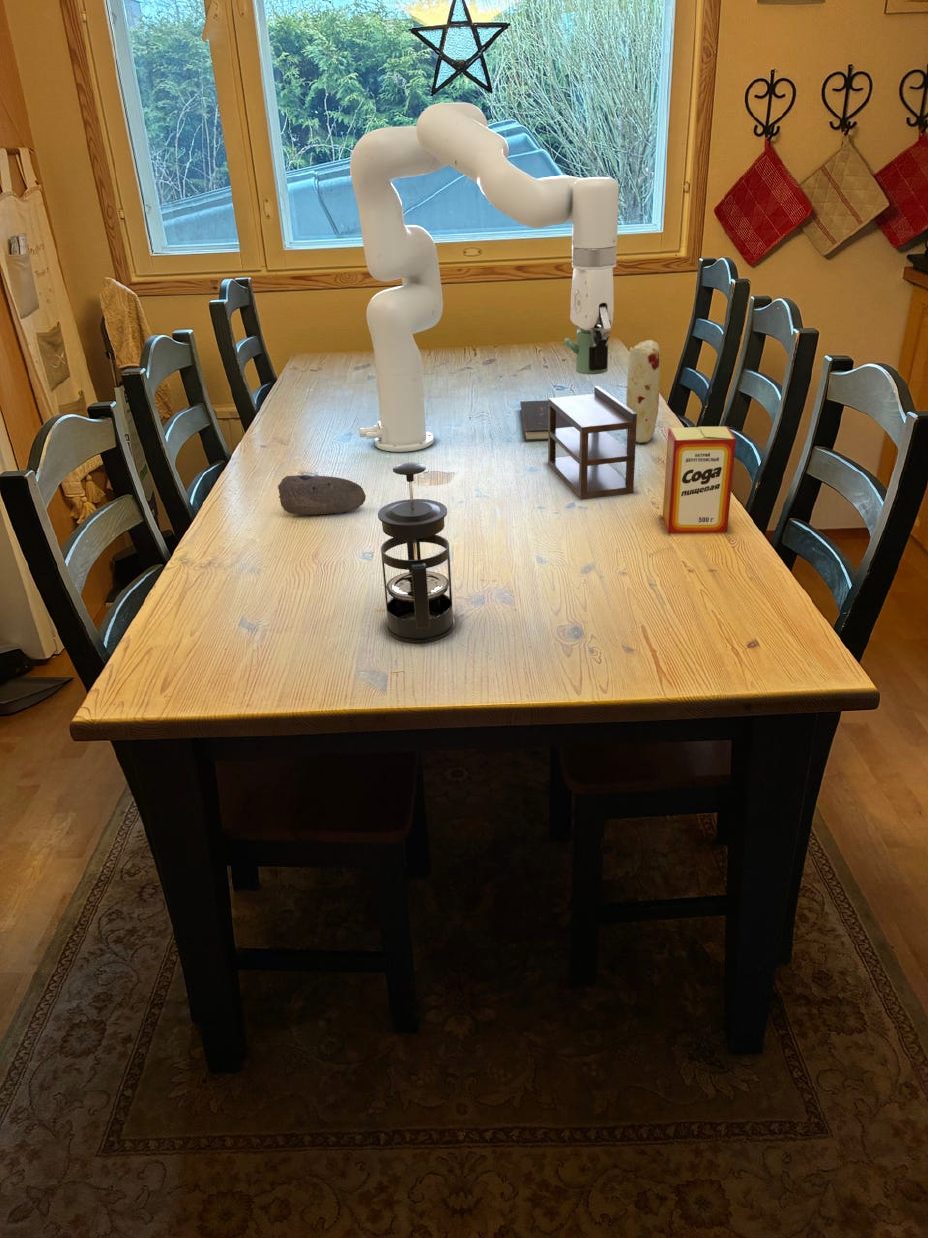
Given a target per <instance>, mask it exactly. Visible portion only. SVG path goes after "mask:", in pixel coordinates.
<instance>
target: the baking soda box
mask: <svg viewBox="0 0 928 1238" xmlns="http://www.w3.org/2000/svg"><path fill="white" fill-rule="evenodd" d="M736 446H737V437H736V435H734V432H733V431H732V430H731V429H730V427H729V426H727V425H726V426H695V427H693V426H691V427H688V426H687V427H668V428H667V447H666V459H665V460H666V461H665V462H666V463H665V475H664V476H665V477H664V491H663V505H662V506H663V508H662V520H663V523H664V526H665V529H666V531H667V534H699V533H700V534H702V533H703V534H704V533H705V534H706V533H707V534H708V533H728V528H729V518H730V506H731V497H732V486H733V477H734V466H735V458H736V457H735V456H736Z"/></svg>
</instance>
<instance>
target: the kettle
mask: <svg viewBox="0 0 928 1238" xmlns="http://www.w3.org/2000/svg"><path fill="white" fill-rule="evenodd" d="M594 328H601V325H595V326H594ZM598 333H600V332H595V334H596V337H597V335H598ZM575 341H576V343H575V342H574V341H572V340H571V339H570V338H568V337H566V338H564V340H563V344H564V345H565V346H566V347H567V348H568V349H570V350H571V351H572V352H573V353H575V372H576V373H578V374H581V375H589V376H590V375H601V374H605V373H607V372H608V371H609V355H608V356H607V368H606V369H603V370H592V371H591V370H590V369H589V347H592V346H591V336H590V330H588V331H586V330H584V329H582V328H580V329H579V330H578V329H577V330H576V340H575ZM608 341H609V339H608Z"/></svg>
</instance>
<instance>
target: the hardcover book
mask: <svg viewBox="0 0 928 1238" xmlns="http://www.w3.org/2000/svg"><path fill="white" fill-rule="evenodd" d="M519 404H520V410H519V411H520V418H521V425H522V431H523V439H524V442H545V441H546V442H548V405H549V404H548V399H547V400H546V399H545V400H523V401H522V400H521V401H520V402H519ZM566 427H574V426H573V425H571V424H570V423H569V422H568V421H567V420H566V419H565V418H563V417H562V416H561V415H560V414H559V413H558V412H557V411H556V429H557V428H566Z"/></svg>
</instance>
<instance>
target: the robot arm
mask: <svg viewBox="0 0 928 1238" xmlns="http://www.w3.org/2000/svg"><path fill="white" fill-rule="evenodd" d="M352 149H353V150H352V153H351V155H350V161H349V162H350V163H349V173H350V179H351V180H350V181H351V184H352V189H353V192H354V196H355V200H356V205H357V208H358V209H357V211H358V215H359V225H360V232H361V238H362V245H363V251H364V259H365V264H366V267H367V270H368V273H369V274H370V276H371V277H372V278H373V279H374V280H376V281H378V282H385V283H386V282H387V283H388V282H393V281H398V280H401V283H402V285H399V286H395V287H391V288H387V289H384V290H382V291H379V292H378V293H376V294H375V295H374V296H373V297H371V299H370V300H369V302H368V303H367V307H366V312H365V314H366V315H365V317H366V318H365V319H366V323H367V327H368V330H369V335H370V338H371V342H372V347H373V354H374V364H375V365H374V366H375V373H376V374H375V375H376V385H377V397H378V408H379V419H380V420H378V421H377V425H373V427H359V428H358V434H359V438H366V439H367V440H372V439H374V445H375V447H376V448H377V449H378V450H382V451H384V452H385V451H387V452H394V453H403V452H404V453H407V452H413V451H418V450H423V449H426V448H428V447H430V446H431V445H433V443H434V442H435V438H434V435H433V433H432V432H430V431H427V426H426V425H427V424H426V409H425V392H424V376H423V375H424V374H423V363H422V355H421V351H420V349H419V346H418V345H417V343H416V340H415V338H414V335H415V334H417V333H421V332H424V331H426V330H429V329H432V328H433V327H435V326H436V325H437V324H438V323H439V322H440V320H441V318H442V315H443V311H444V298H443V290H442V289H443V288H442V279H441V271H440V263H439V256H438V249H437V246H436V244H435V243H436V242H435V241H434V239H433V237H432V235H431V234H430V233H429V232H428V231H427V230H426V229H425V228H423V227H422V226H419V225H416V224H407V225H406V223H405V217H404V216H405V215H404V207H403V202H402V200H401V196H400V195H399V192H398V191H397V189H396V187H395V186H394V185H393V183H392V181H394V180H396V179H399V178H411V177H418V176H419V177H420V176H421V177H422V176H425V175H430V174H433V173H435V172H438V171H440V170H443V169H445V168H446V167H448V166H449V167H451V168H452V169H454V170H455V171H457V172H459V174H462V175H464V176H465V178H468V179H469V180H471V181H472V182H474V183H475V184H477V185H478V186H479V189H480V191H481V194H483V195H484V197H485V199H486V200H487V202H488V203H489V204H490V205H491V206H492V207H493V208H495V209H496V210H497V211H499V212H501V213H502V214H504V215H505V216H507V217H508V218H509V219H512V220H513V221H515V222H517V223H518V224H520V225H522V226H524V227H526V228H531V229H543V228H548V227H552V226H558V225H559V226H560V225H563V224H567V223H571V269H572V270H573V271H572V277H571V288H570V289H571V290H570V309H569V320H570V322H571V323H572V324H573V325H575V326H576V327H577V330H579V329H580V328H582V329H584V330H586V331H588V330H590V336H591V346H592V347H589V369H590V370H591V371H592V370H603V369H606V368H607V356H608V357H609V340H608V339H609V338H610V334H611V332H612V327H613V324H614V323H613V322H614V310H615V308H614V307H615V303H614V302H615V298H614V297H615V295H614V291H615V290H614V289H615V288H614V271H613V269H614V268H616V267H617V255H618V254H617V252H618V227H619V226H618V224H619V222H618V221H619V196H620V195H619V192H620V191H619V189H620V188H619V183H618V181H617V180H616V179H615V178H613V177H608V176H595V177H594V176H592V177H591V176H590V177H580V176H579V177H578V176H572V175H564V174H563V175H556V176H547V177H546V176H545V177H539V178H537V177H534V176H532V175H530V174H529V173H528V172H526V171H523V170H522V169H520V168H518V167H517V166H516V165H514V164H513V163H511V162H510V161H509V160H508V159H509V158H508V157H509V144H508V142H507V140H506V139H505V137H504V136H502V135H501V134H499V133H497V132H496V131H494V130H492V129H490V128H489V124H488V120H487V118H486V116H485V114H484V113H483V111H482V110H481V109H480V107H478V106H476V105H474V104H472V103H471V102H464V101H463V102H439V103H433V104H431V105H429V106H428V107H426V108H425V109H424V110H423V111H422V112H421V113H420V115H419V116H418V118H417V122H416V125H408V126H407V125H406V126H386V127H380V128H377V129H373V130H370V131H368V132H367V133H365V134H364V135H363V136H362V137H360V138H359V139H358V141H357V142H356V144H355V145H354V147H353V148H352ZM595 325H601V328H594V326H595ZM595 332H600V333H598V335H597V337H596V334H595Z"/></svg>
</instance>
